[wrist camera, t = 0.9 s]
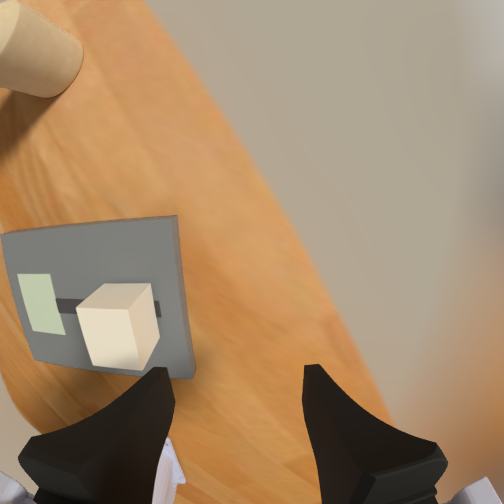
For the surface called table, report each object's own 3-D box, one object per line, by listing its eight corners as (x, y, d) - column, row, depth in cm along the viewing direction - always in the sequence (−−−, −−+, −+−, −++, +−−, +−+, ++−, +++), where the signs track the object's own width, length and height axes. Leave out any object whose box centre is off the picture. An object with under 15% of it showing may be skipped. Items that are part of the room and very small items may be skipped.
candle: (25, 96, 16) (-60, 79, 7) (48, 38, 15) (-25, 1, 5) (68, 101, 17) (-25, 75, 7) (95, 37, 16) (20, -16, 6)
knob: (160, 337, 19) (142, 370, 16) (115, 335, 19) (92, 365, 16) (150, 283, 18) (127, 309, 15) (104, 283, 18) (75, 307, 15)
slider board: (196, 367, 22) (192, 380, 21) (42, 352, 22) (34, 360, 21) (177, 215, 19) (171, 218, 18) (11, 231, 19) (-1, 234, 18)
